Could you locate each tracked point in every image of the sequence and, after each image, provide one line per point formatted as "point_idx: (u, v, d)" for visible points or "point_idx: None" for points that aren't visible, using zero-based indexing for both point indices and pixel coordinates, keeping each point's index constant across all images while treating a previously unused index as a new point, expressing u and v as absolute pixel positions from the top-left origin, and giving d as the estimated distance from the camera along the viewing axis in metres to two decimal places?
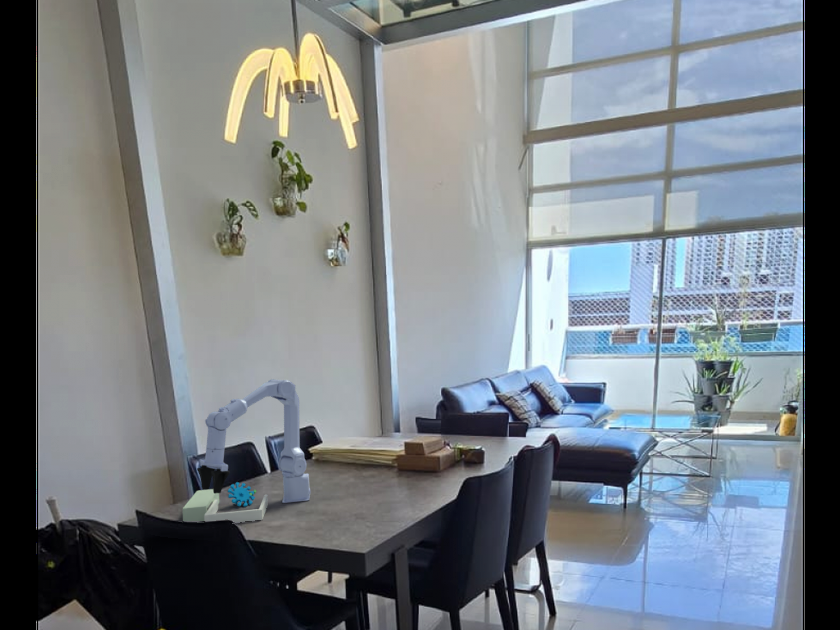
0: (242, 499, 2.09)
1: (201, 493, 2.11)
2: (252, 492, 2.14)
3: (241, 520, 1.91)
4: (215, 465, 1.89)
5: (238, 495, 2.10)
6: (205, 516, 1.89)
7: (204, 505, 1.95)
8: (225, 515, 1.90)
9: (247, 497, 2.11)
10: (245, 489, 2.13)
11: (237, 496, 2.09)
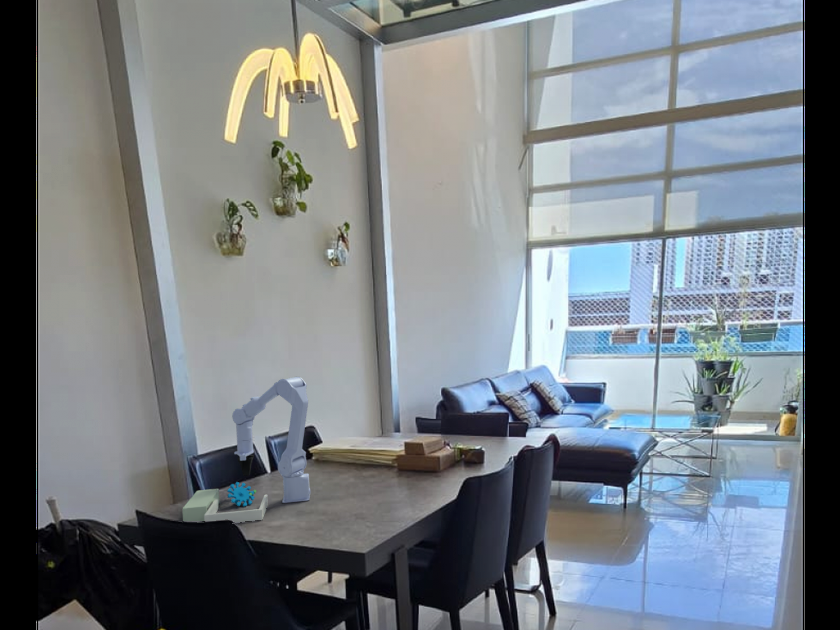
0: (242, 499, 2.09)
1: (201, 493, 2.11)
2: (252, 492, 2.14)
3: (241, 520, 1.91)
4: (239, 455, 2.19)
5: (238, 495, 2.10)
6: (205, 516, 1.89)
7: (204, 505, 1.95)
8: (225, 515, 1.90)
9: (247, 497, 2.11)
10: (245, 489, 2.13)
11: (236, 496, 2.09)
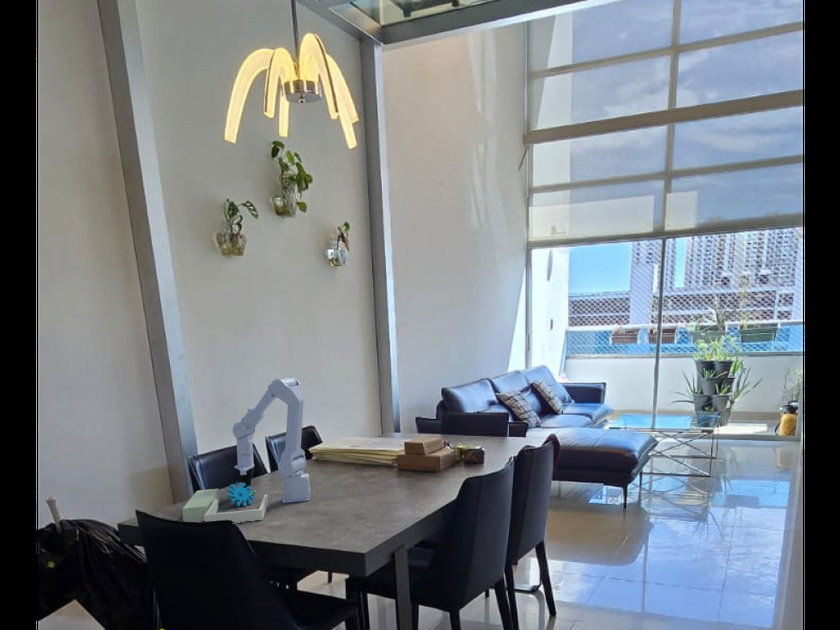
0: (241, 499, 2.09)
1: (201, 493, 2.11)
2: (252, 492, 2.14)
3: (241, 520, 1.91)
4: (239, 469, 2.18)
5: (237, 495, 2.10)
6: (205, 516, 1.89)
7: (204, 505, 1.95)
8: (225, 515, 1.90)
9: (247, 497, 2.11)
10: (245, 489, 2.14)
11: (236, 496, 2.09)
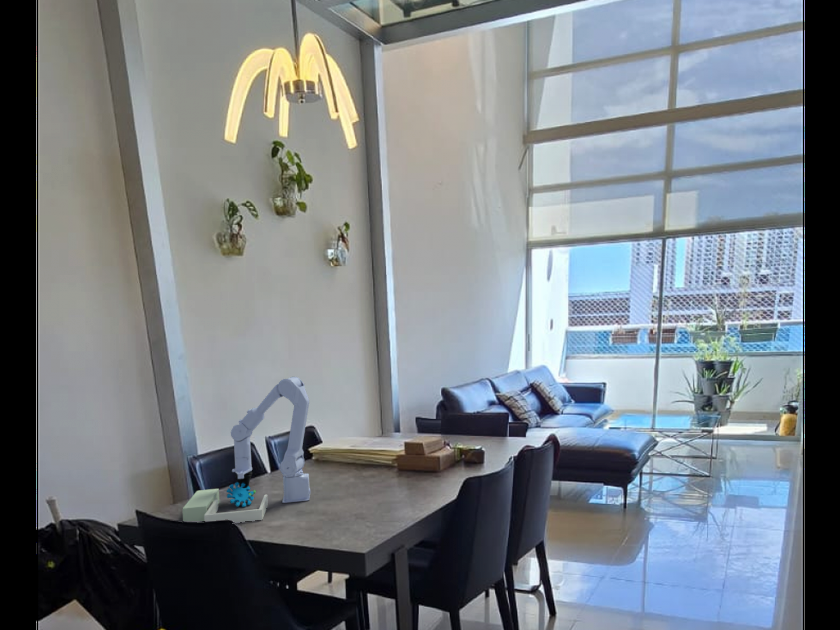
0: (241, 499, 2.09)
1: (201, 493, 2.11)
2: (251, 492, 2.13)
3: (241, 520, 1.91)
4: (236, 472, 2.12)
5: (237, 495, 2.09)
6: (205, 516, 1.89)
7: (204, 505, 1.95)
8: (225, 515, 1.90)
9: (246, 497, 2.10)
10: (244, 489, 2.13)
11: (235, 496, 2.08)
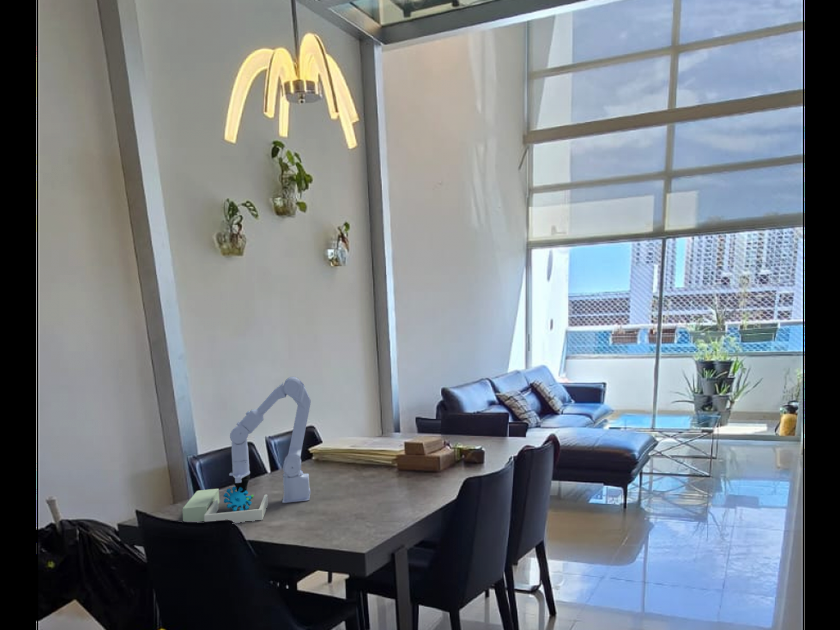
0: (238, 504, 2.03)
1: (201, 493, 2.11)
2: (249, 497, 2.08)
3: (241, 520, 1.91)
4: (234, 476, 2.07)
5: (234, 500, 2.03)
6: (205, 516, 1.89)
7: (204, 505, 1.95)
8: (225, 515, 1.90)
9: (243, 502, 2.05)
10: (242, 494, 2.07)
11: (233, 501, 2.03)
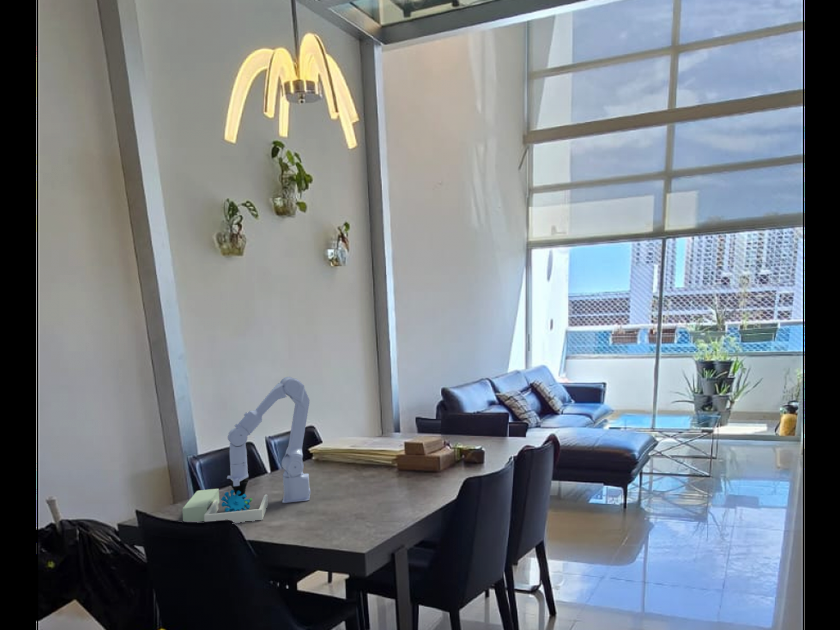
0: (236, 508, 1.99)
1: (201, 493, 2.11)
2: (247, 500, 2.03)
3: (241, 520, 1.91)
4: (232, 479, 2.02)
5: (232, 503, 1.99)
6: (205, 516, 1.89)
7: (204, 505, 1.95)
8: (225, 515, 1.90)
9: (242, 506, 2.00)
10: (240, 497, 2.03)
11: (231, 504, 1.98)
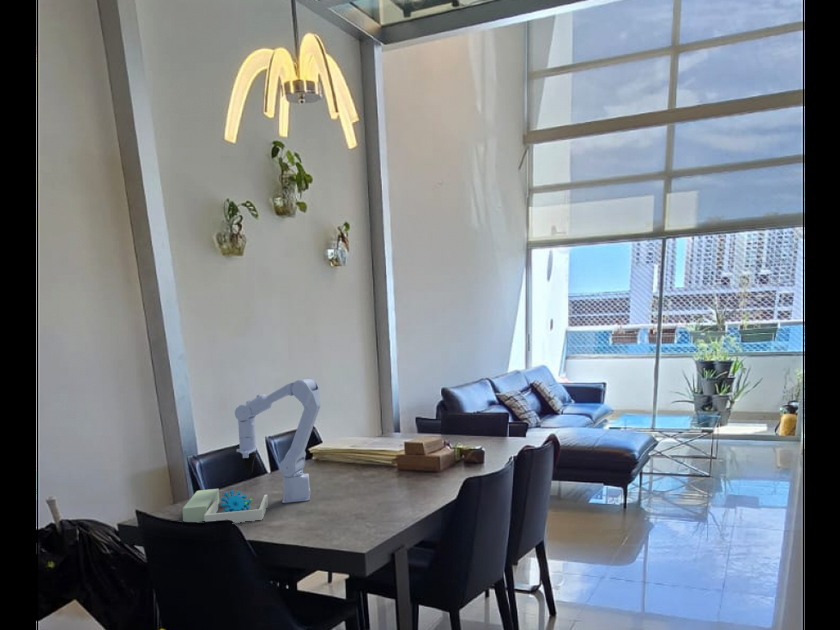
0: (236, 508, 1.99)
1: (201, 493, 2.11)
2: (247, 501, 2.03)
3: (241, 520, 1.91)
4: (241, 452, 2.14)
5: (232, 504, 1.99)
6: (205, 516, 1.89)
7: (204, 505, 1.95)
8: (225, 515, 1.90)
9: (242, 506, 2.00)
10: (240, 497, 2.03)
11: (230, 505, 1.98)
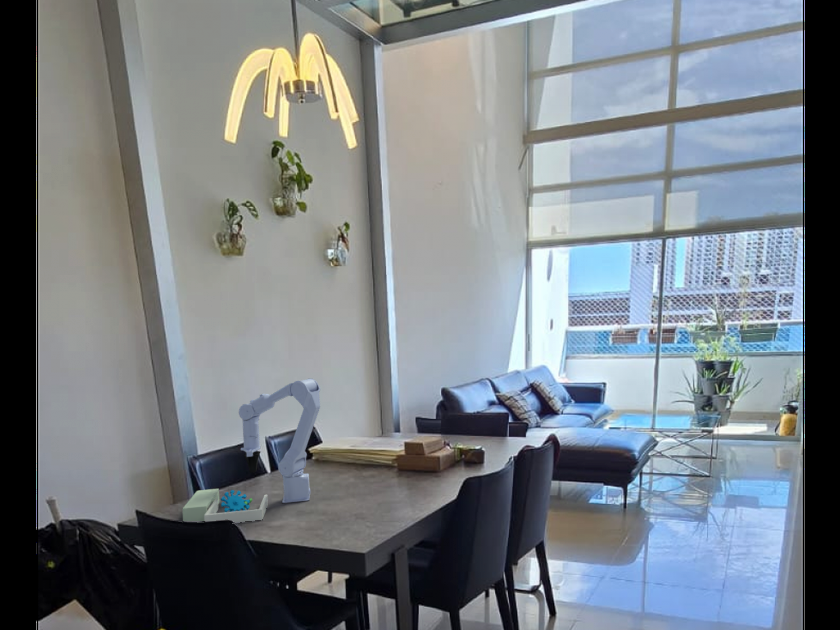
0: (236, 508, 1.99)
1: (201, 493, 2.11)
2: (247, 501, 2.03)
3: (241, 520, 1.91)
4: (245, 451, 2.16)
5: (232, 504, 1.99)
6: (205, 516, 1.89)
7: (204, 505, 1.95)
8: (225, 515, 1.90)
9: (241, 506, 2.00)
10: (240, 497, 2.03)
11: (230, 505, 1.99)
